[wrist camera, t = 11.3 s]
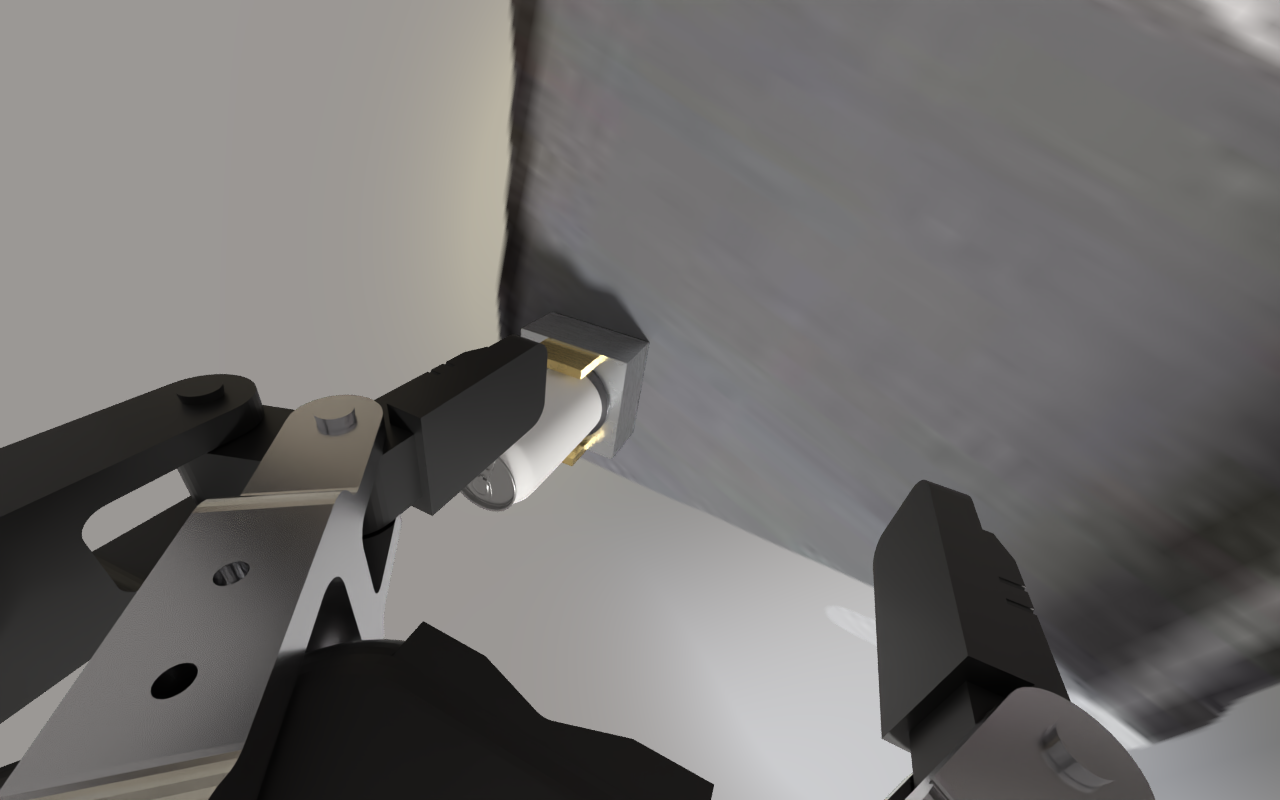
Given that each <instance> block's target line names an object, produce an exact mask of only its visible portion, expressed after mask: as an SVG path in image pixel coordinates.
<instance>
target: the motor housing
mask: <svg viewBox="0 0 1280 800" xmlns="http://www.w3.org/2000/svg"><path fill="white" fill-rule="evenodd" d="M521 337H524V338H527V339H530V340H532V341H535V342H538V343H541V344H543V345H545V346H546V348H547V353H548V358H547V370H548V369H552V370H555V371H557V372H560V373H563V374H566V375H569V376H572V377H575V378H577V379H580V380H581V379H582V378H583V377H584V376H586V377H587V378H588V379H589V380H590V381H591V382H592V383H593V384H594V386H595V387H596V389H597V391H598V393H599V396H600V399H601V404H602V414H601V417H600V420H599V422H598V423H597V425H596V426H595V427H594V428H593V429H592V430H591V432H590V433H589V434H588V435H587V436H586V437H585V438H584V439H583V440H582V441H581V442H580V443H579V444H578V445H577V446H576V448H575V449H574V450H573V451H572V452H571V453H570V454H569V455H568V456H567V457H566V458H565V459H564V460H563V461H562V462H563V463H565V464H568V465H570V466H573V465H574V464H575V462H576V461H577V460H578V459H579V458H580V457H581V456H582V455H583V454H584V452H585V451H586V450H589V451H592V452H594V453H597V454H599V455H602V456H604V457H607V458H610V459H613V458H614V456H615V455H616V454H617V453H618V451H619V450H620V449H621V447H622V446H623V445H624V444H625V442H626V441H627V440H628V438H629V437H630V436H631V435H632V433H633V431H634V425H635V420H636V414H637V409H638V403H639V398H640V392H641V387H642V381H643V376H644V370H645V365H646V359H647V353H648V348H649V342H646V341H643V340H640V339H637V338H634V337H631V336H627V335H624V334H621V333H618V332H615V331H612V330H608V329H605V328H602V327H599V326H596V325H593V324H589V323H586V322H583V321H580V320H577V319H573V318H570V317H567V316H564V315H561V314H558V313H554V312H551V313H549V314H547V315H545V316H544V317H542V318H540V319H538V320H536V321H534V322H532V323H530V324H528V325H527V326H525V327H523V328H521Z"/></svg>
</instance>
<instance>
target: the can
mask: <svg viewBox="0 0 1280 800" xmlns="http://www.w3.org/2000/svg"><path fill="white" fill-rule="evenodd" d="M601 414H602V404H601V399H600V396H599V393H598V391H597V389H596V387H595V386H594V384H593V383H592V382H591V381H590V380H589V379H588V378H587V377H586V376H584V377H583V378H582V379H581V380H580V379H577V378H575V377H572V376H569V375H566V374H563V373H560V372H557V371H555V370H552V369H548V370H547V375H546V391H545V404H544V409H543V412H542V414H541V416H540V418H539V420H538V422H537V423H536V424H535V426H534V427H533V428H532V429H530V430H529V431H528V432H527V433H526V434H525V435H524V436H522V437H521V438H520V439H519V440H518V441H517V442H516V443H515V444H513V445H512V446H511V447H510V448H509V449H508V450H507V451H505V452H504V453H503V454H502V455H501V456H500V457H499V458H498V459H496V460H495V461H494V462H493V463H492V464H491V465H490V466H488V467H487V468H486V469H485V470H484V471H483V472H482V473H481V474H479V475H478V476H477V477H476V478H475V479H474V480H473V481H471V482H470V483H469V484H468V485H467V486H466V487H465V488H463V489H462V490H461V491H460V492H461V493H462V494H463V495H464V496H465V497H466V498H467V499H468V500H470V501H471V502H472V503H474V504H475V505H477V506H479V507H481V508H483V509H486V510H490V511H503V510H506V509H508V508H509V507H510V506H512V504H513V503H516V502H519V501H521V500H524V499H525V498H527V497H528V496H529V495H530V494H531V493H532V492H533V491H534V490H535V489H536V488H537V487H538V486H539V485H540V484H541V483H542V482H543V481H544V480H545V479H546V478H547V477H548V476H549V475H550V474H551V473H552V472H553V471H554V470H555V469H556V467H557V466H558V465H559V464H560V463H561V462H562V461H563V460H564V459H565V458H566V457H567V456H568V455H569V454H570V453H571V452H572V451H573V450H574V449H575V448H576V446H577V445H578V444H579V443H580V442H581V441H582V440H583V439H584V438H585V437H586V436H587V435H588V434H589V433H590V432H591V430H592V429H593V428H594V427H595V426H596V425H597V423H598V422H599V420H600V417H601Z"/></svg>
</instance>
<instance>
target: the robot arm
mask: <svg viewBox="0 0 1280 800" xmlns="http://www.w3.org/2000/svg"><path fill="white" fill-rule="evenodd" d="M547 358H548V353H547V348H546V346H545V345H543V344H541V343H538V342H535V341H532V340H530V339H527V338H524V337H521V336H518V335H515V334H513V335H510V336H508V337H506V338H504V339H502V340H500V341H499V342H497V343H495V344H493V345H491V346H490V347H484V348H480V349H476V350H472V351H468V352H464V353H462V354H460V355H458V356H456V357H454V358H453V359H451V360H449V361H447V362H446V364H441V365H439V366H438V367H436V368H434V369H432V370H431V372H430V373H429V372H427V373H424V374H423V375H421V376H419V377H417V378H415V379H413V380H411V381H409V382H407V383H406V384H404V385H402V386H400V387H398V388H396V389H394V390H392V391H391V392H389V393H387V394H385V395H383V396H381V397H380V398H377V399H376V400H372V399H370V398H367V397H363V396H356V395H336V396H329V397H324V398H321V399H317V400H314V401H311V402H309V403H306V404H304V405H302V406H300V407H299V408H298V409H296V410H292V409H285V408H279V407H272V406H266V405H262V403H261V400H260V397H259V394H258V391H257V388H256V386H255V384H254V382H252V381H251V380H249V379H247V378H245V377H242V376H237V375H228V374H214V375H204V376H197V377H193V378H188V379H184V380H181V381H178V382H175V383H172V384H169V385H166V386H164V387H161V388H159V389H156V390H153V391H151V392H148V393H145V394H143V395H140V396H137V397H135V398H132V399H129V400H127V401H124V402H122V403H119V404H116V405H113V406H111V407H108V408H106V409H103V410H100V411H98V412H95V413H92V414H90V415H87V416H85V417H82V418H79V419H76V420H74V421H71V422H69V423H66V424H63V425H61V426H58V427H55V428H53V429H50V430H47V431H45V432H42V433H39V434H37V435H34V436H32V437H29V438H26V439H24V440H21V441H19V442H16V443H13V444H10V445H8V446H5V447H3V448H0V724H1V723H2V722H4V721H5V720H6V719H8V718H9V717H10V716H12V715H13V714H15V713H16V712H18V711H19V710H20V709H22V708H23V707H25V706H26V705H27V704H29V703H30V702H32V701H33V700H34V699H36V698H37V697H38V696H40V695H41V694H43V693H44V692H46V691H47V690H48V689H50V688H51V687H52V686H54V685H55V684H57V683H58V682H59V681H61V680H62V679H64V678H65V677H67V676H68V675H69V674H71V673H72V672H73V671H75V670H76V669H77V668H79V667H80V666H82V665H83V664H85V663H86V662H87V661H89V660H90V661H89V662H88V664H87V665H86V667H85V668H84V669H83V671H82V673H81V674H80V675H79V677H78V678H77V680H76V681H75V682H74V684H73V685H72V687H71V688H70V690H69V691H68V693H67V694H66V695H65V697H64V698H63V700H62V701H61V703H60V704H59V706H58V707H57V709H56V710H55V711H54V713H53V714H52V716H51V717H50V719H49V720H48V721H47V723H46V725H45V726H44V727H43V729H42V730H41V732H40V733H39V735H38V736H37V737H36V739H35V740H34V742H33V743H32V745H31V746H30V747H29V749H28V750H27V752H26V753H25V755H24V756H23V758H22V759H21V760H20V761H17V762H14V763H12V764H9V765H6V766H4V767H1V768H0V800H711V797H712V792H713V787H714V784H712V783H710V782H708V781H707V780H705V779H703V778H701V777H699V776H698V775H696V774H694V773H692V772H690V771H689V770H687V769H685V768H683V767H682V766H680V765H678V764H676V763H675V762H673V761H671V760H669V759H667V758H666V757H664V756H662V755H660V754H659V753H657V752H655V751H653V750H651V749H649V748H648V747H646V746H644V745H642V744H641V743H639V742H637V741H635V740H634V739H630V738H626V737H621V736H617V735H613V734H608V733H603V732H599V731H595V730H590V729H586V728H582V727H577V726H573V725H568V724H564V723H559V722H554V721H551V720H548V719H546V718H544V717H543V716H541V715H540V714H539V713H538V712H536V710H535V709H534V708H533V707H532V706H531V705H530V704H529V703H528V702H527V701H526V700H525V698H524V697H523V696H522V695H521V694H520V693H519V692H518V691H517V690H516V689H515V688H514V686H513V685H512V684H511V683H510V682H509V681H508V680H507V679H506V678H505V677H504V676H503V675H502V674H501V672H500V671H499V670H498V669H497V668H496V667H495V666H494V665H493V664H492V663H491V662H490V661H489V660H488V658H487V657H486V656H484V655H482V654H480V653H479V652H477V651H475V650H473V649H471V648H470V647H468V646H466V645H465V644H462V643H461V642H459V641H457V640H456V639H454V638H452V637H450V636H449V635H447V634H445V633H443V632H441V631H440V630H438V629H436V628H434V627H432V626H431V625H429V624H427V623H425V622H422V623H421V624H420V625H419V626H418V628H417V629H416V630H415V631H414V632H413V633H412V634H411V635H410V636H409V638H408V639H407V640H406V641H402V640H388V639H384V610H385V603H386V598H387V593H388V588H389V584H390V579H391V574H392V569H393V564H394V559H395V554H396V550H397V545H398V540H399V534H400V530H401V525H402V520H401V513H403V512H404V511H405V510H406V509H407V508H409V507H410V506H413V507H416V508H417V509H419V510H421V511H424V512H425V513H427V514H430V515H432V516H433V515H434V514H435V513H436V512H437V511H438V510H440V509H441V508H442V507H443V506H444V505H445V504H446V503H448V502H449V501H450V500H451V499H452V498H453V497H454V496H456V495H457V494H458V493H459V492H460V491H461V490H462V489H463V488H465V487H466V486H467V485H468V484H469V483H470V482H471V481H473V480H474V479H475V478H476V477H477V476H478V475H479V474H481V473H482V472H483V471H484V470H485V469H486V468H487V467H488V466H490V465H491V464H492V463H493V462H494V461H495V460H496V459H498V458H499V457H500V456H501V455H502V454H503V453H504V452H505V451H507V450H508V449H509V448H510V447H511V446H512V445H513V444H515V443H516V442H517V441H518V440H519V439H520V438H521V437H522V436H524V435H525V434H526V433H527V432H528V431H529V430H530V429H532V428H533V427H534V426H535V424H536V423H537V422H538V420H539V418H540V416H541V414H542V412H543V409H544V404H545V391H546V375H547ZM175 469H178V471H179V473H180V475H181V477H182V479H183V481H184V483H185V485H186V487H187V489H188V490H189V493H190V495H191V496H190V497H188V498H186V499H184V500H182V501H181V502H179V503H177V504H176V505H174V506H172V507H170V508H168V509H167V510H165V511H163V512H161V513H160V514H158V515H156V516H154V517H153V518H151V519H150V520H147V521H146V522H144V523H142V524H140V525H138V526H137V527H135V528H133V529H131V530H130V531H128V532H126V533H124V534H123V535H121V536H119V537H117V538H116V539H114V540H112V541H110V542H109V543H107V544H105V545H103V546H102V547H100V548H98V549H97V550H94V551H93V552H91V550H90V549H89V548H88V546H86V544H85V542H84V541H83V539H82V529H83V526H84V524H85V522H86V521H87V520H88V519H89V517H90V516H91V515H92V514H93V513H94V512H96V511H97V510H98V509H100V508H101V507H103V506H105V505H107V504H108V503H110V502H112V501H114V500H116V499H118V498H120V497H122V496H124V495H126V494H128V493H130V492H132V491H133V490H136V489H138V488H140V487H141V486H144V485H145V484H147V483H149V482H151V481H153V480H155V479H157V478H159V477H161V476H163V475H165V474H167V473H169V472H171V471H173V470H175ZM873 574H874V591H875V592H874V594H875V613H876V633H877V652H878V673H879V693H880V711H881V731H882V739H884V740H886V741H888V742H890V743H892V744H894V745H896V746H898V747H900V748H902V749H904V750H906V751H908V752H910V753H911V757H912V768H913V773H911V774H910V775H909V776H908V777H907V778H905V779H904V780H903V781H902V782H901V783H900V784H899V785H898V786H897V787H896V788H895V789H894V790H893V791H892V792H891V793H890V794H889V795H888V796H887V797H886V798H885V799H884V800H1155V798H1154V795H1153V793H1152V790H1151V788H1150V786H1149V783H1148V782H1147V780H1146V778H1145V776H1144V775H1143V773H1142V771H1141V770H1140V768H1139V767H1138V765H1137V764H1136V762H1135V761H1134V760H1133V758H1132V757H1131V756H1130V754H1129V753H1128V752H1127V751H1126V750H1125V748H1124V747H1123V746H1122V745H1121V744H1120V743H1119V742H1118V740H1117V739H1116V738H1115V737H1114V736H1113V735H1112V734H1111V733H1110V732H1109V731H1108V730H1107V729H1106V728H1104V727H1103V726H1102V725H1101V724H1100V723H1099V722H1098V721H1097V720H1095V719H1094V718H1093V717H1092V716H1090V715H1089V714H1088V713H1087V712H1085V711H1084V710H1082V709H1081V708H1079V707H1078V706H1077V705H1075V704H1073V703H1072V702H1071V701H1070V699H1069V696H1068V694H1067V691H1066V688H1065V686H1064V683H1063V681H1062V678H1061V676H1060V673H1059V671H1058V668H1057V666H1056V663H1055V661H1054V658H1053V655H1052V653H1051V650H1050V648H1049V645H1048V643H1047V640H1046V638H1045V635H1044V633H1043V630H1042V628H1041V625H1040V622H1039V620H1038V617H1037V615H1034V614H1033V611H1034V607H1033V605H1032V602H1031V600H1030V597H1029V595H1028V592H1025V591H1024V589H1025V584H1024V582H1023V579H1022V577H1021V574H1020V572H1019V569H1018V567H1017V564H1016V562H1015V560H1014V559H1013V557H1012V556H1011V555H1010V554H1009V552H1008V551H1007V550H1006V549H1005V547H1004V546H1003V545H1002V544H1001V543H1000V541H999V540H998V539H997V538H996V536H995V535H994V534H993V533H990V532H988V531H985V530H982V527H981V524H980V521H979V518H978V515H977V513H976V510H975V507H974V504H973V501H972V499H971V497H970V496H968V495H966V494H963V493H961V492H958V491H955V490H952V489H949V488H946V487H944V486H941V485H938V484H935V483H932V482H929V481H927V480H921V481H919V482H918V483H917V484H916V485H915V486H914V487H913V489H912V490H911V492H910V493H909V495H908V496H907V498H906V499H905V501H904V502H903V504H902V505H901V507H900V508H899V510H898V511H897V513H896V514H895V516H894V517H893V519H892V520H891V522H890V523H889V525H888V526H887V528H886V529H885V531H884V532H883V534H882V535H881V537H880V539H879V542H878V544H877V547H876V550H875V554H874V560H873Z"/></svg>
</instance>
